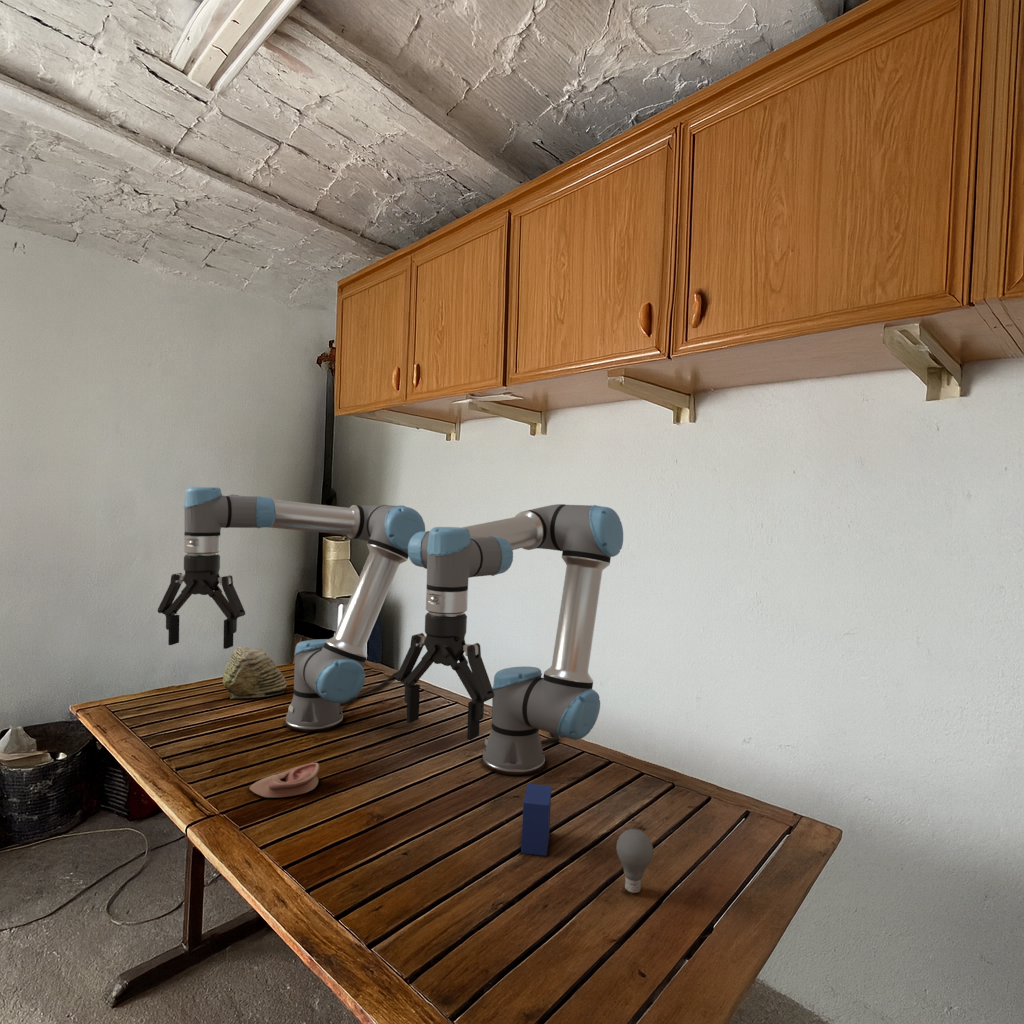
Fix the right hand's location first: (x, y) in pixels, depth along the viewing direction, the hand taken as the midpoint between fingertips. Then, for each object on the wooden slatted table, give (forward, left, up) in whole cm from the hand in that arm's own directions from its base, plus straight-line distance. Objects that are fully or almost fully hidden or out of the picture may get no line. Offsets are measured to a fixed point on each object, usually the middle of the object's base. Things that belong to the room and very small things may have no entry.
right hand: (441, 729), depth 115 cm
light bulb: (-18, +30, -22) cm, 42 cm away
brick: (-16, +9, -22) cm, 29 cm away
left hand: (+22, -64, +5) cm, 67 cm away
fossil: (-7, -106, -22) cm, 109 cm away
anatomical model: (+11, -40, -22) cm, 48 cm away
